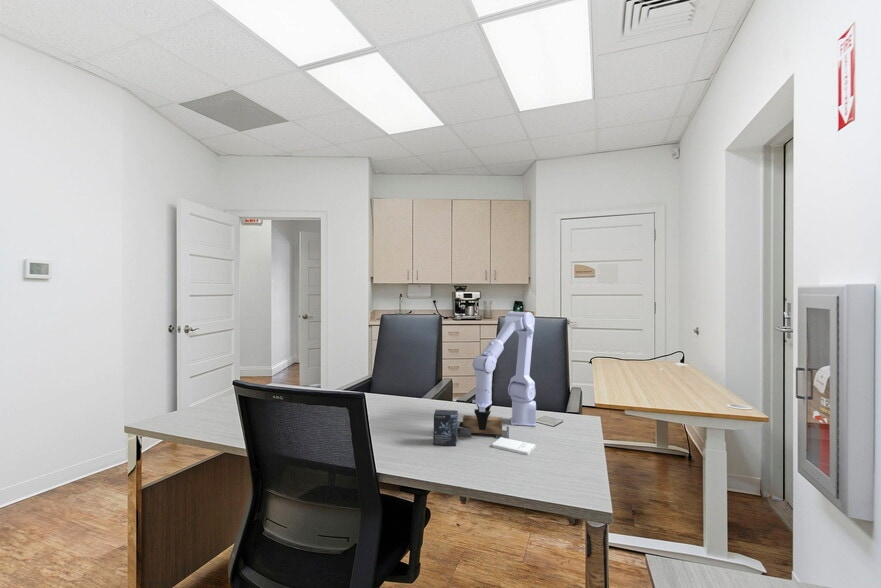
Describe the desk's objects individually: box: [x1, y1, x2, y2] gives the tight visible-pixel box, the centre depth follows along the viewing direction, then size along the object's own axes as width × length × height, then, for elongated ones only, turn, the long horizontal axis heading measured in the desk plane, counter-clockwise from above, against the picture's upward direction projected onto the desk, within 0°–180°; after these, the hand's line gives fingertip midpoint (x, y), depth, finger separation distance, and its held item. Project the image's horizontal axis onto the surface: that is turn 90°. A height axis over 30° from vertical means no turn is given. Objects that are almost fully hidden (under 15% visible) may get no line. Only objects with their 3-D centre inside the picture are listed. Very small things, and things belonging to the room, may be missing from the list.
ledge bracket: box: [495, 426, 510, 439], centre depth 148 cm, size 4×6×2 cm
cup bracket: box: [457, 420, 473, 438], centre depth 151 cm, size 6×8×3 cm
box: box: [432, 409, 459, 447], centre depth 141 cm, size 8×6×11 cm
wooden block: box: [462, 414, 503, 435], centre depth 150 cm, size 14×4×5 cm, turn 81°
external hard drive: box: [491, 437, 537, 456], centre depth 138 cm, size 2×8×12 cm
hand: (483, 426), depth 150 cm, fingers open, 7 cm apart
